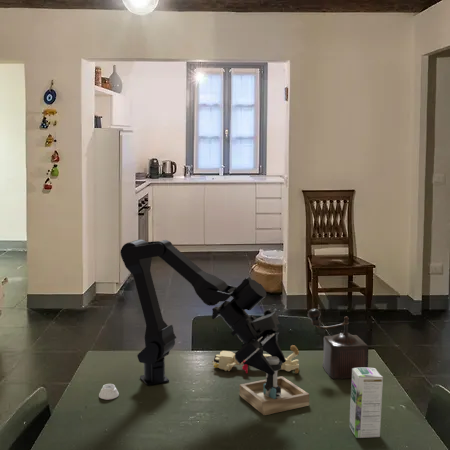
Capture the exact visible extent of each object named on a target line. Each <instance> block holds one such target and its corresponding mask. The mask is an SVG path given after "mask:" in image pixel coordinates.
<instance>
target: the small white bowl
mask: <svg viewBox="0 0 450 450" xmlns="http://www.w3.org/2000/svg"><path fill="white" fill-rule="evenodd" d="M119 395H120V393H119V390H118V389H117V387H116V385H115V384H113V383H106V384H103V386H102V388H101V389H100V391H99V394H98V397H99V398H100V399H102V400H105V401H106V400H107V401H108V400H114V399H117V398H118V397H119Z"/></svg>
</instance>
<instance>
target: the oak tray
mask: <svg viewBox="0 0 450 450" xmlns="http://www.w3.org/2000/svg"><path fill="white" fill-rule="evenodd" d="M277 382H278V386H279V387H280V388H281V394H282V396H280V397H281V398H276V399H273V398H271V397H269V396H268V397H267V396H266V394H264V393H263V384H265V383H266V378H265V379H261V380H257V381H251V382H246V383H241V384H239V397H241V398H242V399H243V400H244V401H246V402H247V403H248V404H250V405H251V406H252V407H253V408H254V409H256V411H258V412H259V413H260V414H262V415H263V416H267V415H268V416H269V415H271V414H276V413H280V412H282V413H283V412H285V411H290V410H294V409H299V408H303V407H307V406H310V393H309V392H307V391H305V390H304V389H302V388H301V387H299V386H298V385H296V384H295V383H293V382H292V381H290V380H289V379H287V378H285V377H284V376H277Z"/></svg>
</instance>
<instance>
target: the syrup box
mask: <svg viewBox="0 0 450 450" xmlns="http://www.w3.org/2000/svg"><path fill="white" fill-rule="evenodd" d="M383 381H384V376H383V375H381V373H380V372H379V371H378V370H377V368H375V367H369V366H368V367H360V368H352V379H351V386H350V387H351V388H350V401H349V402H350V405H349V429H350V430H351V432H352V434H353V435H354V437H355V439H364V438H367V439H368V438H380V436H381V424H382V423H381V422H382V402H383V383H384V382H383Z"/></svg>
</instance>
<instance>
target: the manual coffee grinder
mask: <svg viewBox="0 0 450 450" xmlns="http://www.w3.org/2000/svg"><path fill="white" fill-rule="evenodd" d="M321 315H322V314H321V311H320V309H318V308H311V309H309V310H307V317H308V318H309V320H310V321H311V325H312V326H315V327H316V328H317V329H320V330H332V329H338V328H341V327H343V326H344V330H343V329H342V330H340V333H338V334H333V335H323V360H322V367H323V369H324V371H325V373H326V374H327V375H328V376H329V377H330V378H332V380H352V368H360V367H368V368H369V345H368V344H367V343H366V342H365V341H364V340H363V339H361V337H359V336H358V335H357V334H351V333H350V332H348V328H349V327H348V325H349V323H350V321H349V317H348V316H344V318H343V319H344V321H343V322H342V323H339V324H334V325H328V326H322V325H321V324H322V322H321V320H320V317H321Z"/></svg>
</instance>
